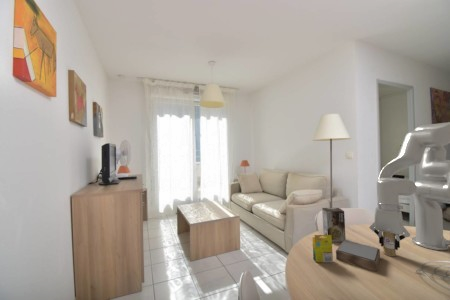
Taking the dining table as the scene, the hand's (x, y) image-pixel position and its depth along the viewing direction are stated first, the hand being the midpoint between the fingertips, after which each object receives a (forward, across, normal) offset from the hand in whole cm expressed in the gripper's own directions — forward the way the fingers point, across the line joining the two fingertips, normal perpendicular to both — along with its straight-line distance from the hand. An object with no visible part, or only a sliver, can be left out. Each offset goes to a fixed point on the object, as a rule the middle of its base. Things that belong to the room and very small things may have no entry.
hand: (389, 246), depth 89 cm
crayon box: (+4, +21, +25) cm, 33 cm away
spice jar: (+4, 0, 0) cm, 4 cm away
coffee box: (+4, +23, -1) cm, 23 cm away
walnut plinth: (+3, +10, +13) cm, 17 cm away
